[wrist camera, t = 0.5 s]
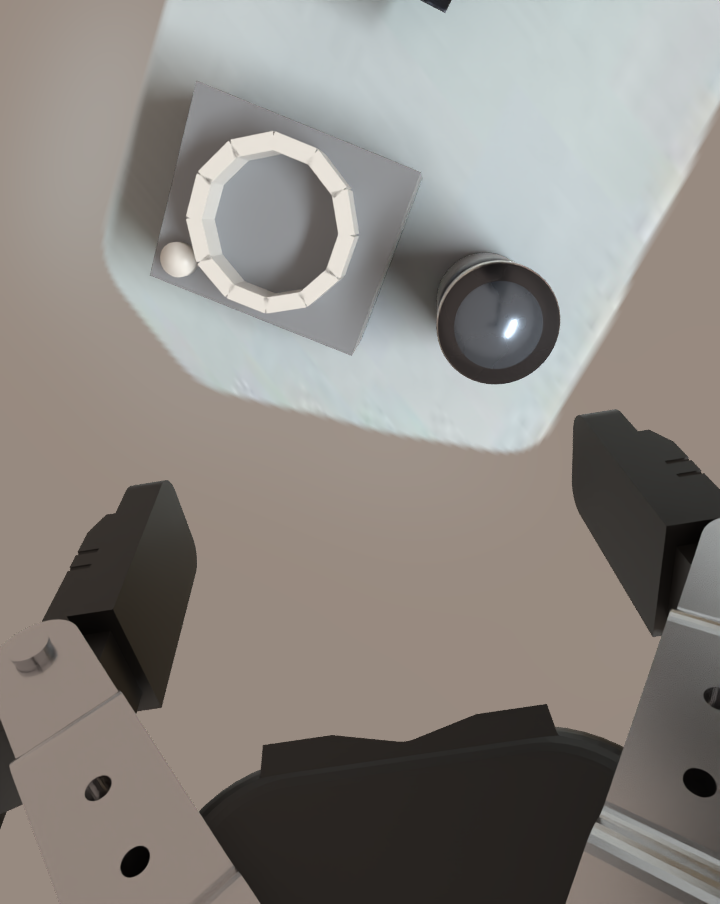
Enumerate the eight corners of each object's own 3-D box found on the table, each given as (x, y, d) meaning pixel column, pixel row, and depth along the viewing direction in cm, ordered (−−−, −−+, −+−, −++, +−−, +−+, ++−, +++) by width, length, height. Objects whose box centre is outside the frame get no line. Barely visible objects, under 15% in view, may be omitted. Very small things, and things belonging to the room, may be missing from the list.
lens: (458, 236, 37) (467, 242, 28) (545, 272, 37) (583, 290, 28) (421, 325, 39) (417, 359, 30) (504, 359, 39) (527, 402, 30)
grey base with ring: (227, 98, 36) (181, 71, 29) (422, 178, 36) (420, 169, 30) (183, 268, 39) (133, 278, 33) (361, 339, 40) (347, 363, 33)
